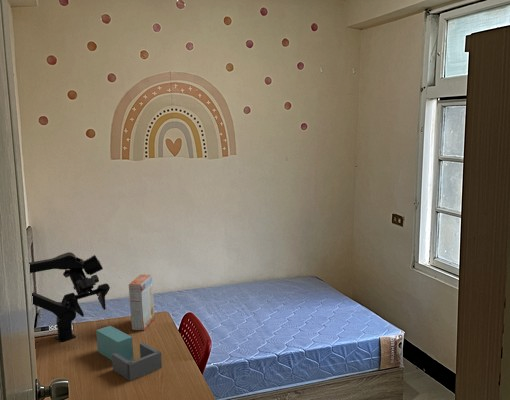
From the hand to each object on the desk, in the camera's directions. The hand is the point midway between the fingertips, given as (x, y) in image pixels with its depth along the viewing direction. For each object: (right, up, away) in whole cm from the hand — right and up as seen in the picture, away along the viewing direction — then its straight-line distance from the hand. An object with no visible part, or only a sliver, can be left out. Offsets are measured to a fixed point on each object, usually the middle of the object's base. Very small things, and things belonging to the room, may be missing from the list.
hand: (94, 312), depth 199 cm
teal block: (+11, -15, -8) cm, 20 cm away
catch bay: (+21, -16, -18) cm, 32 cm away
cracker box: (+15, -10, +22) cm, 28 cm away
